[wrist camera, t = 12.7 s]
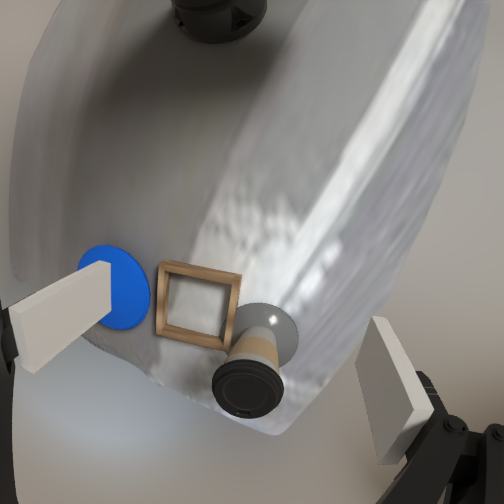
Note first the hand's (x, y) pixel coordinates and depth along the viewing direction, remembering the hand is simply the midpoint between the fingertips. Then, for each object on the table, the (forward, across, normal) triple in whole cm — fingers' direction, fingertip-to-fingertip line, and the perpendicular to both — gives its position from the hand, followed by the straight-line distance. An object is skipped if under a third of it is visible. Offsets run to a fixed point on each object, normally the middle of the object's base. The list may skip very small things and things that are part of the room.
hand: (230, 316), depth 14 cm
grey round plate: (+33, +1, -20) cm, 38 cm away
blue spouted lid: (+33, -26, -16) cm, 45 cm away
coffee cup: (+32, +1, -20) cm, 38 cm away
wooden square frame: (+33, -10, -16) cm, 38 cm away
